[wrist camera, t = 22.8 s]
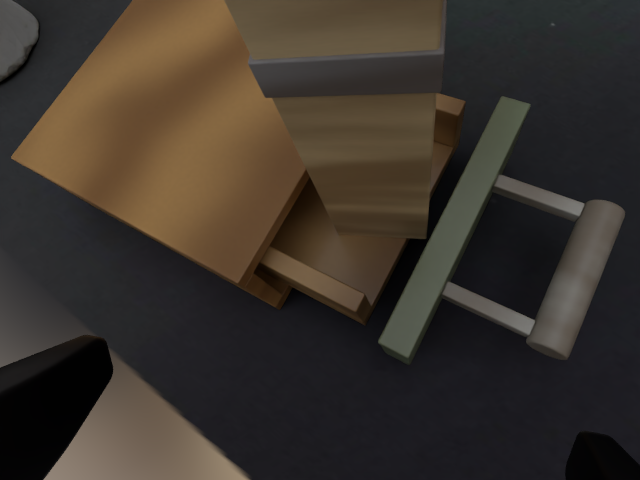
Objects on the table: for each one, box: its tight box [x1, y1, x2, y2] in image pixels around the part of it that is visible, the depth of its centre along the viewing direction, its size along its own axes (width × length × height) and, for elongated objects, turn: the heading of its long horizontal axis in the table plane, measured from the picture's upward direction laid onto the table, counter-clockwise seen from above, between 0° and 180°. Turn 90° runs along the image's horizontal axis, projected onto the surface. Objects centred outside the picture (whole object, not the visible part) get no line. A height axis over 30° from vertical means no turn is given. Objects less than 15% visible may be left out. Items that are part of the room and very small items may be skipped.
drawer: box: [256, 93, 625, 365], centre depth 19 cm, size 18×11×4 cm, turn 61°
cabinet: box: [11, 0, 310, 310], centre depth 22 cm, size 14×12×5 cm
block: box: [224, 0, 447, 239], centre depth 13 cm, size 3×4×14 cm, turn 82°
